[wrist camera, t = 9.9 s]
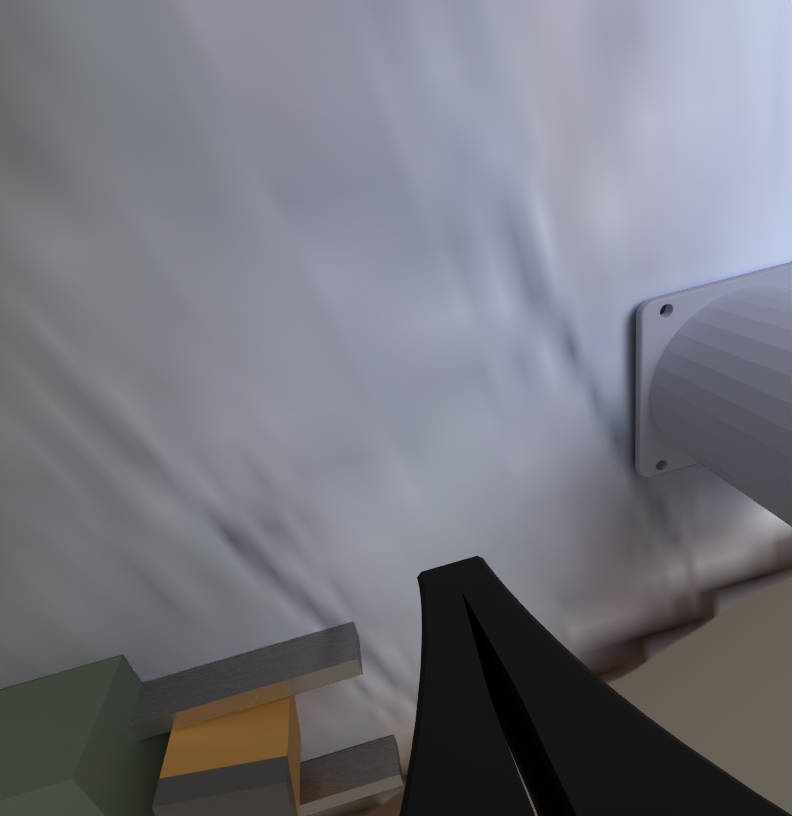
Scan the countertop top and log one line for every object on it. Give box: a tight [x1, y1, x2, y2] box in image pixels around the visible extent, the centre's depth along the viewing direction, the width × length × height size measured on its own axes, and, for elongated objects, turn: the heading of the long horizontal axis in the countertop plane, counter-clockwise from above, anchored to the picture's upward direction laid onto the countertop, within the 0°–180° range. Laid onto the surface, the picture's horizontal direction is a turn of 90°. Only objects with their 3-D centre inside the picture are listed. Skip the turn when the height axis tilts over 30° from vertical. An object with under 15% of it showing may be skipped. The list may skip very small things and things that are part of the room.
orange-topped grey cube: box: [152, 695, 301, 816], centre depth 22 cm, size 5×5×5 cm
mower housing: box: [0, 622, 404, 816], centre depth 22 cm, size 16×14×5 cm
